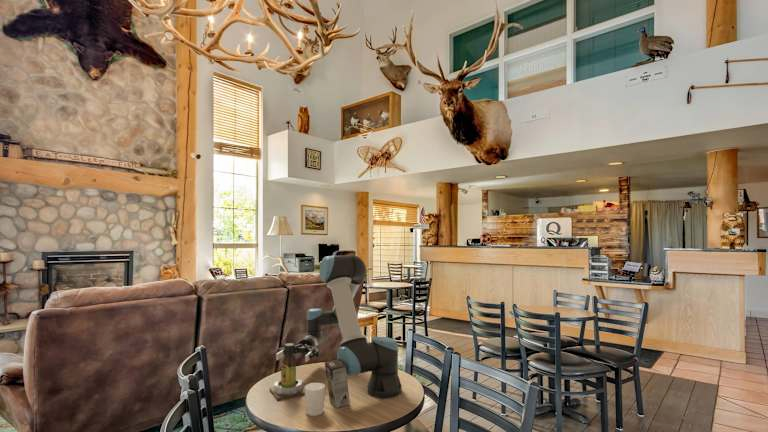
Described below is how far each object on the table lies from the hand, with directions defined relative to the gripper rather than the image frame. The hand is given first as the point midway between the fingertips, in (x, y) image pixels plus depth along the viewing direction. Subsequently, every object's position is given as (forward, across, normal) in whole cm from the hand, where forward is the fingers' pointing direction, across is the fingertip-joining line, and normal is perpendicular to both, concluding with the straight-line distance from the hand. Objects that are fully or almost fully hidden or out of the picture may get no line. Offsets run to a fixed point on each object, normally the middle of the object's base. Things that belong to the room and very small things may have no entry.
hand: (291, 358), depth 184 cm
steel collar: (+4, 0, -14) cm, 14 cm away
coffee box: (+10, -25, -13) cm, 30 cm away
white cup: (+20, -18, -14) cm, 30 cm away
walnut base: (+4, 0, -14) cm, 14 cm away
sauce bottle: (+4, 0, -13) cm, 13 cm away
